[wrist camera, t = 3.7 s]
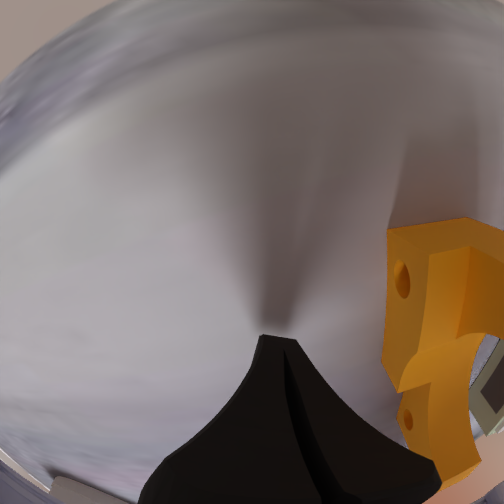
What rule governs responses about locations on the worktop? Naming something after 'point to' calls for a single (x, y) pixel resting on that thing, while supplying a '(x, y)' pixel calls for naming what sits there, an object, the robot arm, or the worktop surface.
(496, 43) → the worktop surface
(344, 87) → the worktop surface
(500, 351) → the pale green block
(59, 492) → the dish
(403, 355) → the pipe clamp
